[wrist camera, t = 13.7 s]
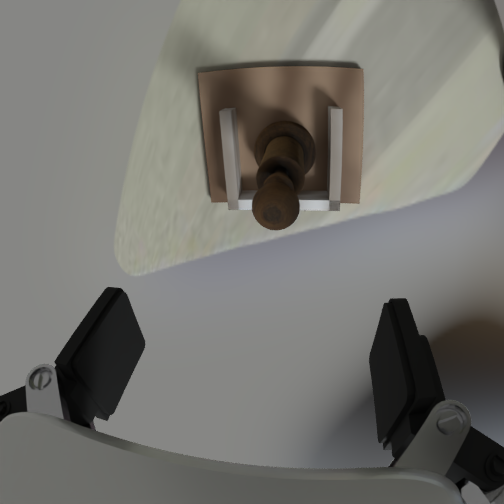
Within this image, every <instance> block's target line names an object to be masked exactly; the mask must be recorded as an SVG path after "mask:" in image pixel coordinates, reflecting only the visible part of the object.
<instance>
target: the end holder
mask: <svg viewBox="0 0 504 504" xmlns="http://www.w3.org/2000/svg"><path fill="white" fill-rule="evenodd" d="M198 80H199V91H200V101H201V112H202V122H203V131H204V141H205V150H206V159H207V168H208V177H209V185H210V193H211V202H228V209H229V210H252V200H253V197H254V195H255V193H256V192H257V191H258V190H259V189H258V186H257V183H256V174H257V171H258V168H259V166H258V165H257V163H256V160H255V157H254V146H255V142H256V140H257V138H258V136H259V134H260V133H261V132H262V130H263V129H264V128H266V127H267V126H268V125H270V124H272V123H275V122H278V121H292V122H295V123H298V124H300V125H302V126H303V127H304V128H306V129H307V130H308V132H309V133H310V134H311V136H312V138H313V140H314V143H315V148H316V158H315V162H314V164H313V166H312V168H311V169H310V171H309V172H308V173H307V174H305V182H304V186H303V189H302V191H301V192H300V193H299V194H298V195H297V196H298V199H299V203H300V210H328V211H340V203H357V204H359V200H360V187H361V172H362V153H363V122H364V77H363V69H357V68H342V67H318V66H281V67H256V68H241V69H229V70H219V71H210V72H202V73H198Z"/></svg>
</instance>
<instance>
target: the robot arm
mask: <svg viewBox="0 0 504 504" xmlns="http://www.w3.org/2000/svg"><path fill="white" fill-rule="evenodd" d="M144 348H145V340H144V337H143V335H142V333H141V330H140V327H139V325H138V322H137V320H136V317H135V315H134V312H133V309H132V307H131V304H130V301H129V299H128V296H127V294H126V293H125V292H124V291H123V290H122V289H121V288H114V287H107V288H106V289H105V290H104V292H103V293H102V294H101V296H100V297H99V298H98V300H97V301H96V302H95V304H94V305H93V306H92V308H91V309H90V311H89V312H88V314H87V315H86V316H85V318H84V319H83V321H82V322H81V323H80V325H79V326H78V327H77V329H76V330H75V332H74V333H73V335H72V336H71V338H70V339H69V341H68V342H67V343H66V345H65V347H64V348H63V349H62V351H61V352H60V354H59V355H58V357H57V359H56V360H55V364H56V366H55V368H54V367H53V366H51V365H49V364H42V365H38V366H36V367H35V368H34V369H33V370H31V371H30V373H29V374H28V376H27V378H26V385H25V386H23V387H21V388H18V389H16V390H14V391H11V392H9V393H7V394H4V395H2V396H0V504H504V447H502V446H501V445H499V444H498V443H496V442H495V441H493V440H491V439H490V438H488V437H487V436H485V435H484V434H482V433H481V432H479V431H478V430H476V429H474V428H473V427H471V416H470V413H469V411H468V410H467V408H466V407H465V406H464V405H463V404H461V403H460V402H457V401H454V400H445V396H444V393H443V389H442V385H441V382H440V378H439V375H438V372H437V368H436V365H435V361H434V358H433V355H432V352H431V349H430V345H429V342H428V340H427V338H426V337H425V336H424V335H419V334H418V330H417V327H416V324H415V321H414V318H413V315H412V312H411V310H410V307H409V304H408V301H407V299H405V298H398V299H390V300H389V302H388V303H384V305H383V309H382V313H381V317H380V321H379V325H378V328H377V331H376V335H375V339H374V342H373V345H372V349H371V352H370V358H369V363H370V371H371V378H372V386H373V395H374V403H375V413H376V423H377V434H378V441H379V443H383V448H384V450H391V449H392V456H393V457H394V460H393V461H392V462H391V464H390V465H389V466H388V467H380V468H379V467H377V468H343V469H315V468H284V467H269V466H257V465H247V464H238V463H230V462H224V461H216V460H210V459H204V458H199V457H193V456H188V455H183V454H178V453H173V452H169V451H165V450H160V449H156V448H152V447H148V446H144V445H141V444H137V443H133V442H130V441H126V440H123V439H120V438H116V437H113V436H110V435H107V434H104V433H101V432H98V431H96V429H95V426H94V422H93V419H94V417H95V416H96V417H97V418H100V419H103V420H106V421H107V420H108V418H109V416H110V415H112V414H113V413H114V412H115V409H116V407H117V405H118V403H119V401H120V399H121V396H122V394H123V392H124V390H125V388H126V386H127V384H128V381H129V379H130V377H131V375H132V373H133V371H134V369H135V367H136V365H137V363H138V361H139V359H140V357H141V355H142V353H143V350H144Z"/></svg>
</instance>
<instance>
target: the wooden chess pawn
mask: <svg viewBox="0 0 504 504" xmlns="http://www.w3.org/2000/svg"><path fill="white" fill-rule="evenodd" d="M254 157H255V160H256V163H257V165H258V166H259V168H258V171H257V174H256V183H257V186H258V189H259V190H258V191H257V192H256V193H255V195H254V197H253V200H252V212H253V215H254V217H255V219H256V220H257V221H258V223H259V224H261V225H262V226H263V227H265V228H267V229H270V230H282V229H285V228H287V227H289V226H290V225H291V224H293V223H294V221H295V220H296V219H297V217H298V214H299V210H300V203H299V199H298V196H297V195H298V194H299V193H300V192H301V191H302V189H303V186H304V182H305V174H307V173H308V172H309V171H310V169H311V168H312V166H313V164H314V162H315V158H316V148H315V143H314V140H313V138H312V136H311V134H310V133H309V132H308V130H307V129H306V128H304V127H303V126H302V125H300V124H298V123H295V122H292V121H278V122H275V123H272V124H270V125H268V126H267V127H266V128H264V129H263V130H262V132H261V133H260V134H259V136H258V138H257V140H256V142H255V146H254Z"/></svg>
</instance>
